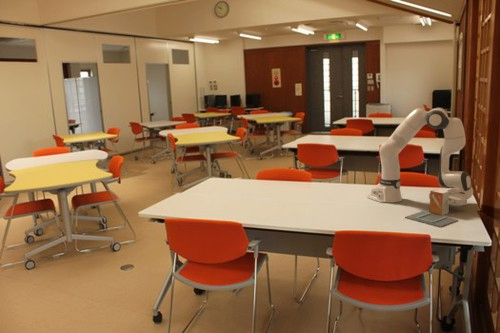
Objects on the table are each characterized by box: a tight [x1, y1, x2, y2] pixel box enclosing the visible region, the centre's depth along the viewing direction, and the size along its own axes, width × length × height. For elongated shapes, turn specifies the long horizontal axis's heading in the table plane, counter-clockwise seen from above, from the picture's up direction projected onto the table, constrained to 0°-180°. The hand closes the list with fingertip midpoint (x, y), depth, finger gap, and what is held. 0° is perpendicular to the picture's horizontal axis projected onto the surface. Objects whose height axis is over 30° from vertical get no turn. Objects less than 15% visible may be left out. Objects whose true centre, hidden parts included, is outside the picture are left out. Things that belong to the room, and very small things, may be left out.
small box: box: [429, 188, 450, 216], centre depth 255 cm, size 8×6×13 cm
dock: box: [404, 210, 459, 228], centre depth 245 cm, size 22×16×1 cm
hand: (439, 201), depth 255 cm, fingers closed on small box, 8 cm apart
